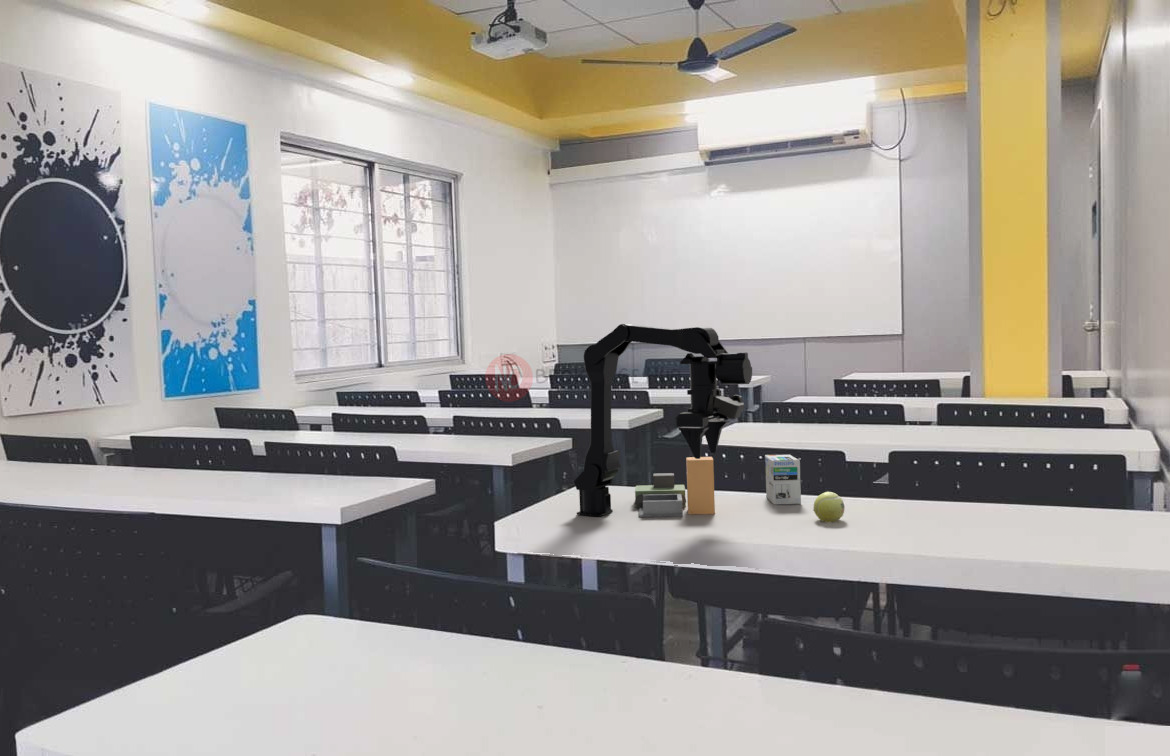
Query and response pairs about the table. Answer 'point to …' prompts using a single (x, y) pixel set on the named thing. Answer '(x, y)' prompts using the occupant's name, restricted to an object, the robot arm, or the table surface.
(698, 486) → the tan rectangular block
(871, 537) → the table surface
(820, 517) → the tennis ball
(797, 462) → the light bulb box
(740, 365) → the robot arm
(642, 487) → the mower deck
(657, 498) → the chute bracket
